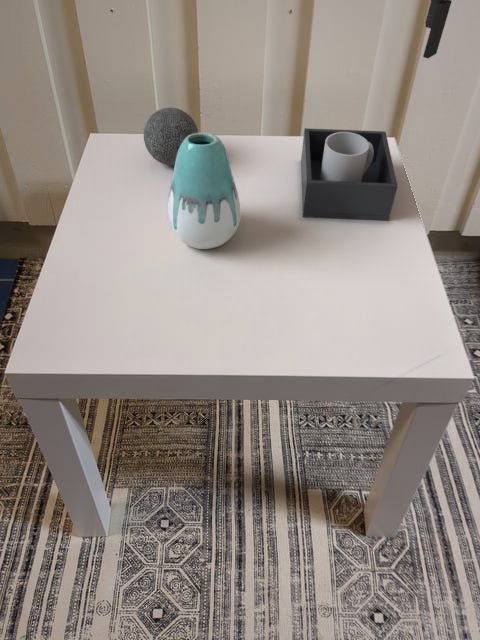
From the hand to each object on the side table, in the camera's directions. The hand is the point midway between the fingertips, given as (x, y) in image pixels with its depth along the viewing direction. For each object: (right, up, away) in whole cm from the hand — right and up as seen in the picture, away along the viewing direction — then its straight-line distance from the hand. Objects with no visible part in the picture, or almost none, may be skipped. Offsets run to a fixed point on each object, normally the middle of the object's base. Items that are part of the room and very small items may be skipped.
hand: (477, 70), depth 73 cm
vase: (-37, -19, +20) cm, 46 cm away
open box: (-12, -9, +28) cm, 32 cm away
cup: (-12, -9, +27) cm, 31 cm away
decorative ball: (-44, -2, +34) cm, 55 cm away
